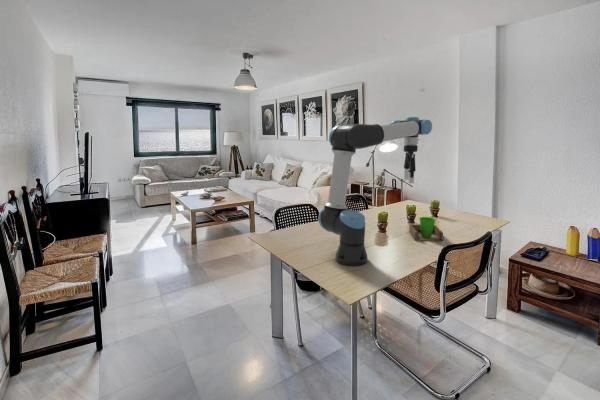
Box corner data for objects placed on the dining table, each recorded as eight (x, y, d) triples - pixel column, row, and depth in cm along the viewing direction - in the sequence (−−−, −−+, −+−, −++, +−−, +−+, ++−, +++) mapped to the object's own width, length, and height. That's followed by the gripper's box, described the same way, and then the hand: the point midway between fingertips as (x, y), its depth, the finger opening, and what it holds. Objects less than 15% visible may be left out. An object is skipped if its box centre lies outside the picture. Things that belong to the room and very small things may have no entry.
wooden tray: (414, 240, 184) (415, 232, 183) (408, 232, 199) (409, 224, 198) (442, 241, 182) (443, 232, 181) (434, 232, 198) (435, 224, 197)
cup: (435, 236, 190) (437, 218, 187) (432, 240, 182) (434, 221, 180) (419, 233, 194) (421, 216, 192) (416, 238, 187) (417, 219, 185)
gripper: (422, 145, 174) (420, 184, 179) (412, 143, 199) (410, 178, 203) (408, 145, 175) (406, 184, 180) (400, 144, 200) (398, 178, 204)
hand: (408, 181), depth 191 cm, fingers open, 13 cm apart
